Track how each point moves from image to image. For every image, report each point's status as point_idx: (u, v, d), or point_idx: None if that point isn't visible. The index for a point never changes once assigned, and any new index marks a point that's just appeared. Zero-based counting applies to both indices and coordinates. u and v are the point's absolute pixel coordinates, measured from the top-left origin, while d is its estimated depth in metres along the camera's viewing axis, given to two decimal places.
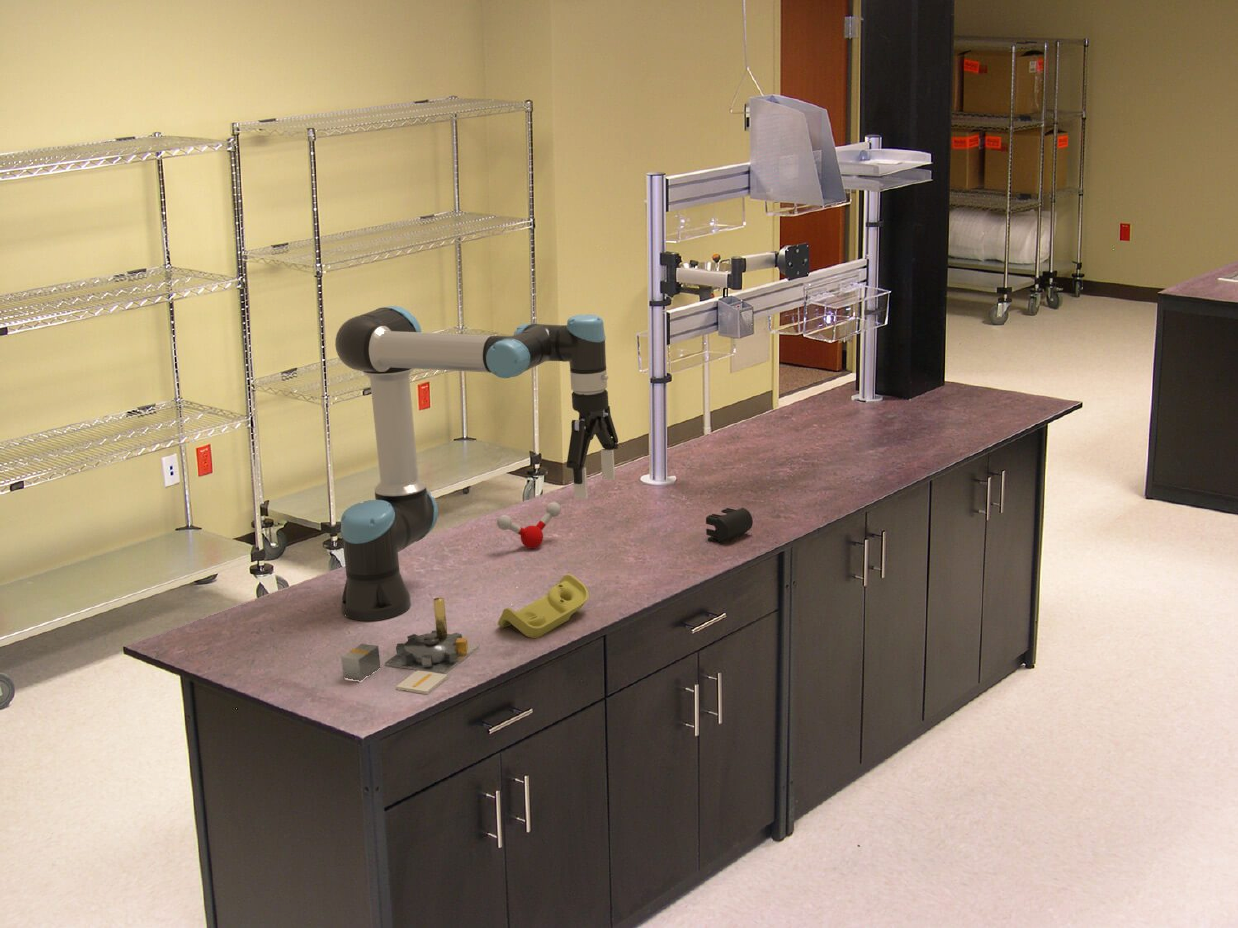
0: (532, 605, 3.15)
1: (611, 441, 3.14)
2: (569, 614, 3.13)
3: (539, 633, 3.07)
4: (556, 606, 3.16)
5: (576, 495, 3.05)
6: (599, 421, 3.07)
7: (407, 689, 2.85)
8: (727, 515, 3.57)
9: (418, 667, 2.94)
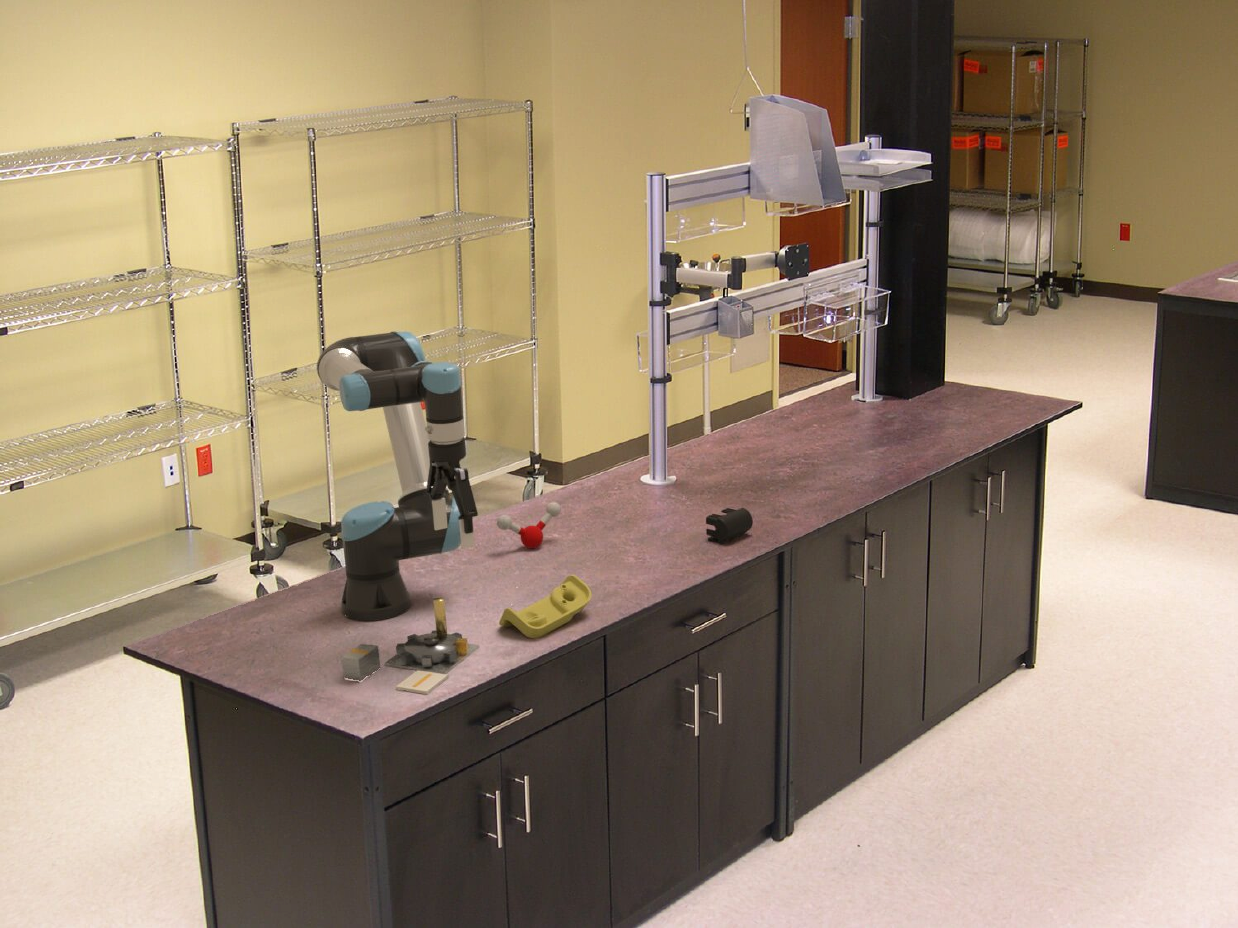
0: (534, 605, 3.15)
1: (459, 508, 2.97)
2: (570, 615, 3.12)
3: (539, 633, 3.07)
4: (558, 607, 3.15)
5: None
6: None
7: (407, 689, 2.85)
8: (727, 515, 3.57)
9: (418, 667, 2.94)
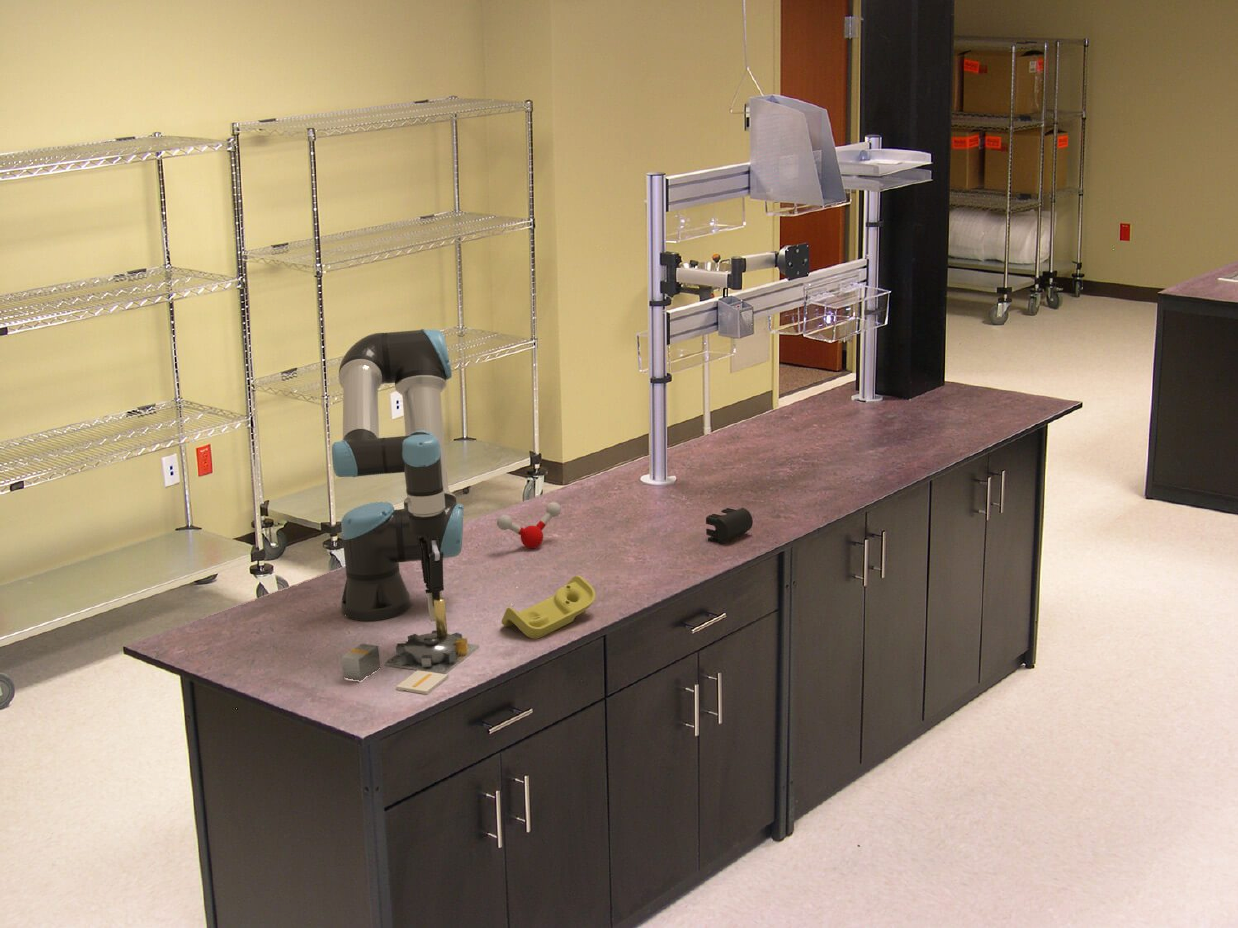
0: (537, 605, 3.15)
1: (428, 582, 3.02)
2: (573, 616, 3.12)
3: (539, 634, 3.07)
4: (561, 607, 3.15)
5: None
6: None
7: (407, 689, 2.85)
8: (727, 515, 3.57)
9: (418, 667, 2.94)
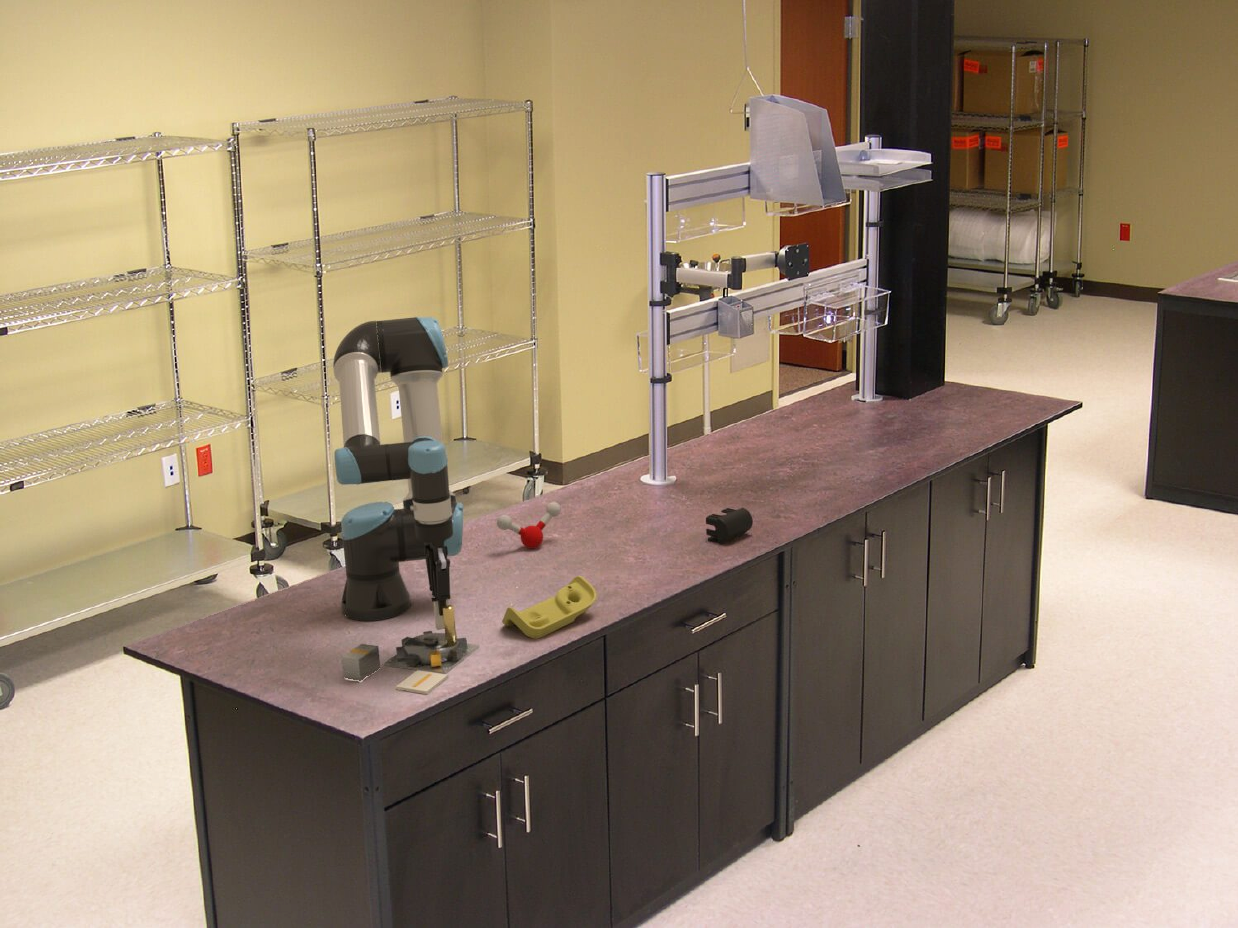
0: (538, 605, 3.15)
1: (435, 590, 2.98)
2: (573, 616, 3.12)
3: (540, 634, 3.07)
4: (562, 608, 3.15)
5: None
6: None
7: (407, 689, 2.85)
8: (727, 515, 3.57)
9: (418, 667, 2.94)
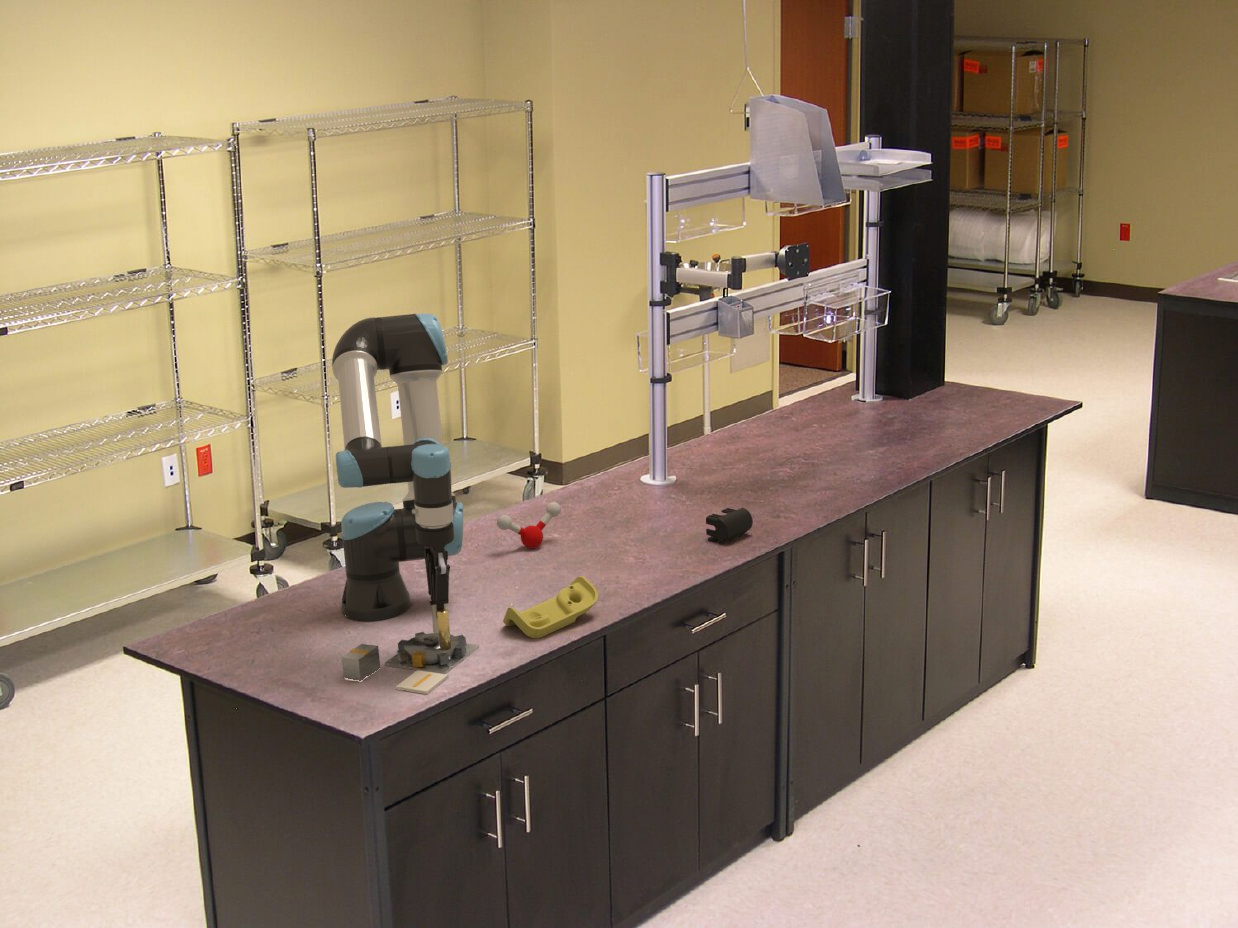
0: (539, 605, 3.15)
1: (433, 594, 2.96)
2: (574, 616, 3.12)
3: (540, 634, 3.07)
4: (563, 608, 3.15)
5: None
6: None
7: (407, 689, 2.85)
8: (727, 515, 3.57)
9: (418, 667, 2.94)
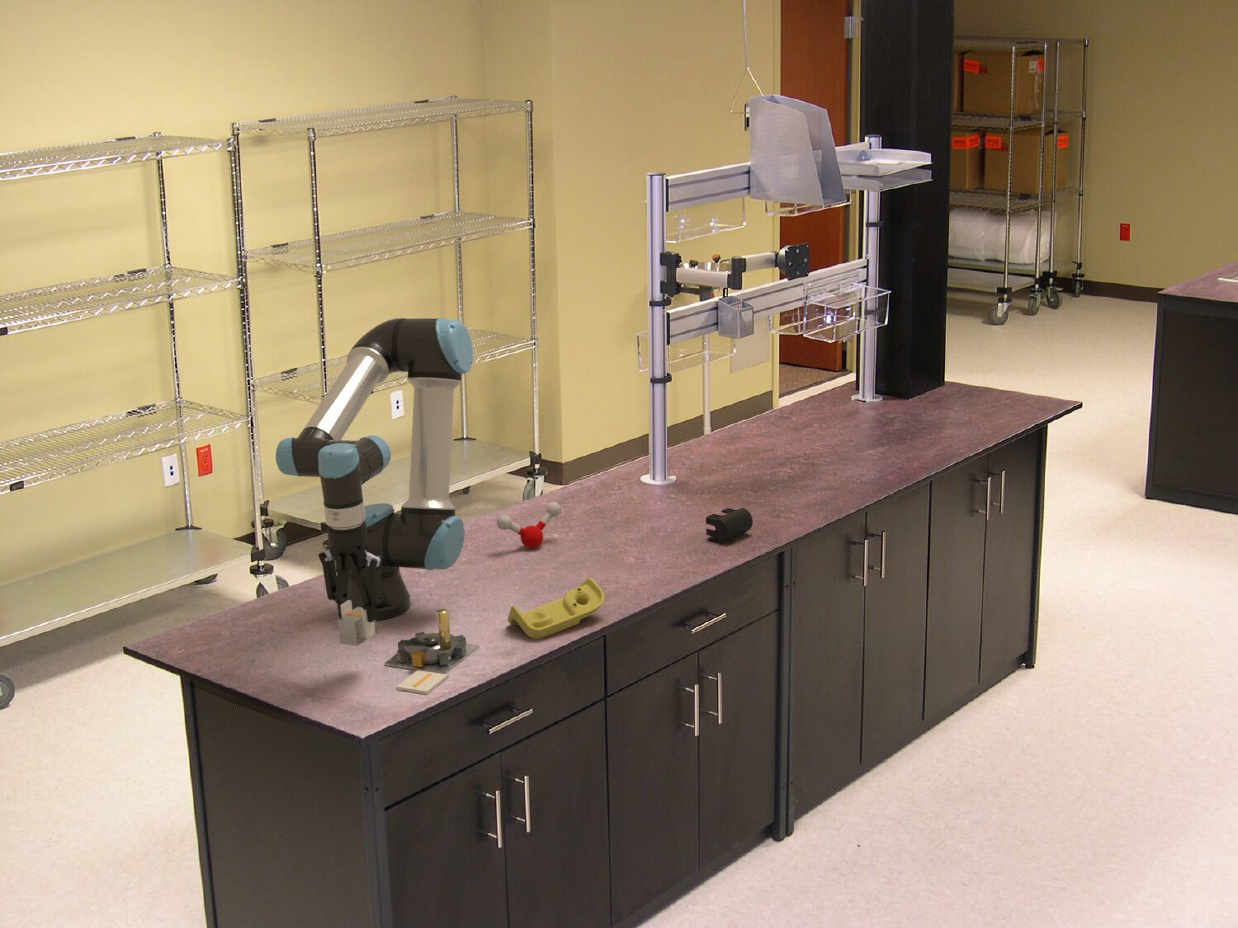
0: (545, 606, 3.14)
1: (364, 597, 2.87)
2: (577, 619, 3.10)
3: (540, 635, 3.06)
4: (568, 609, 3.14)
5: None
6: None
7: (407, 689, 2.85)
8: (727, 515, 3.57)
9: (418, 667, 2.94)
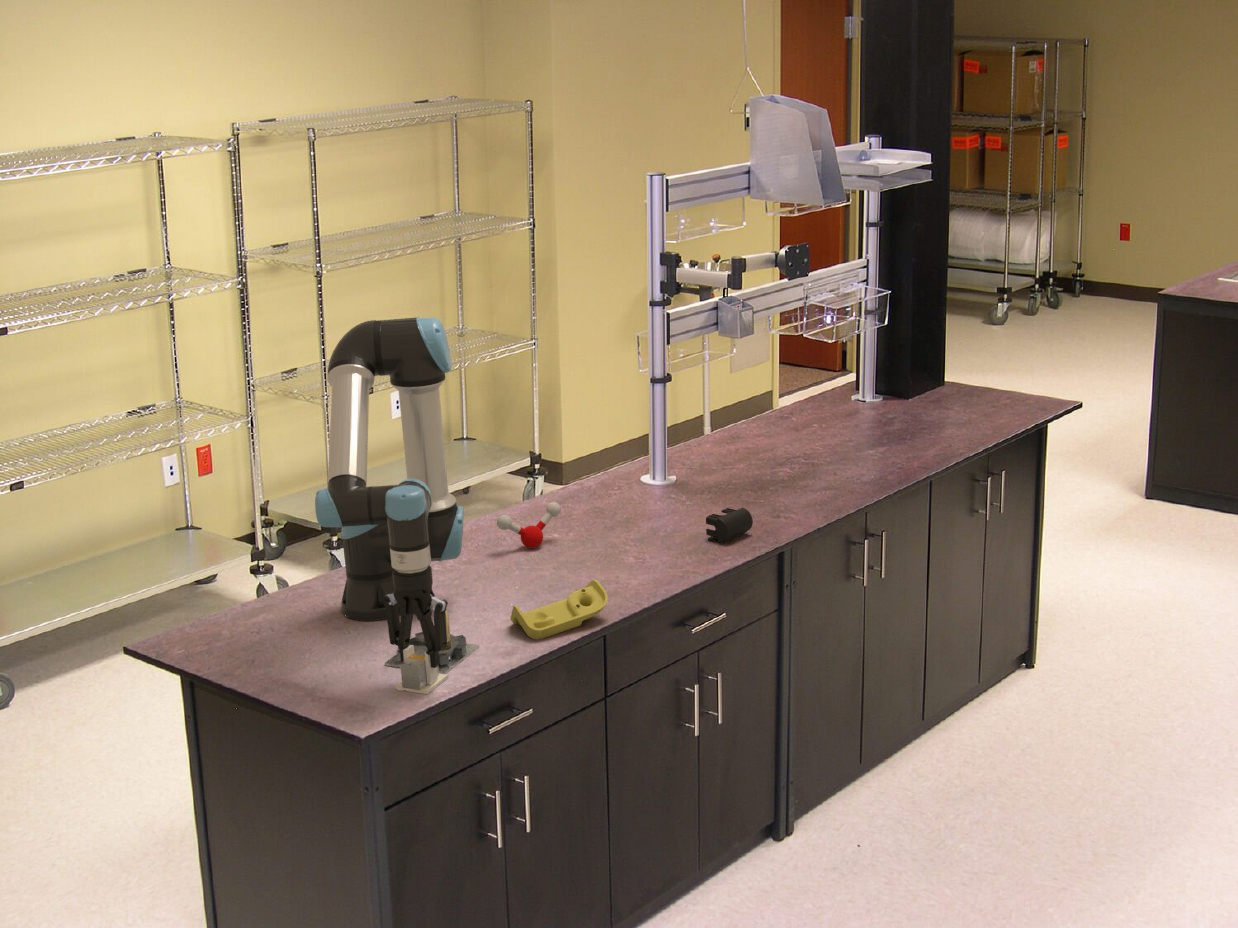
0: (548, 606, 3.14)
1: (428, 642, 2.83)
2: (579, 620, 3.09)
3: (540, 635, 3.06)
4: (571, 611, 3.13)
5: None
6: None
7: (407, 689, 2.85)
8: (727, 515, 3.57)
9: None
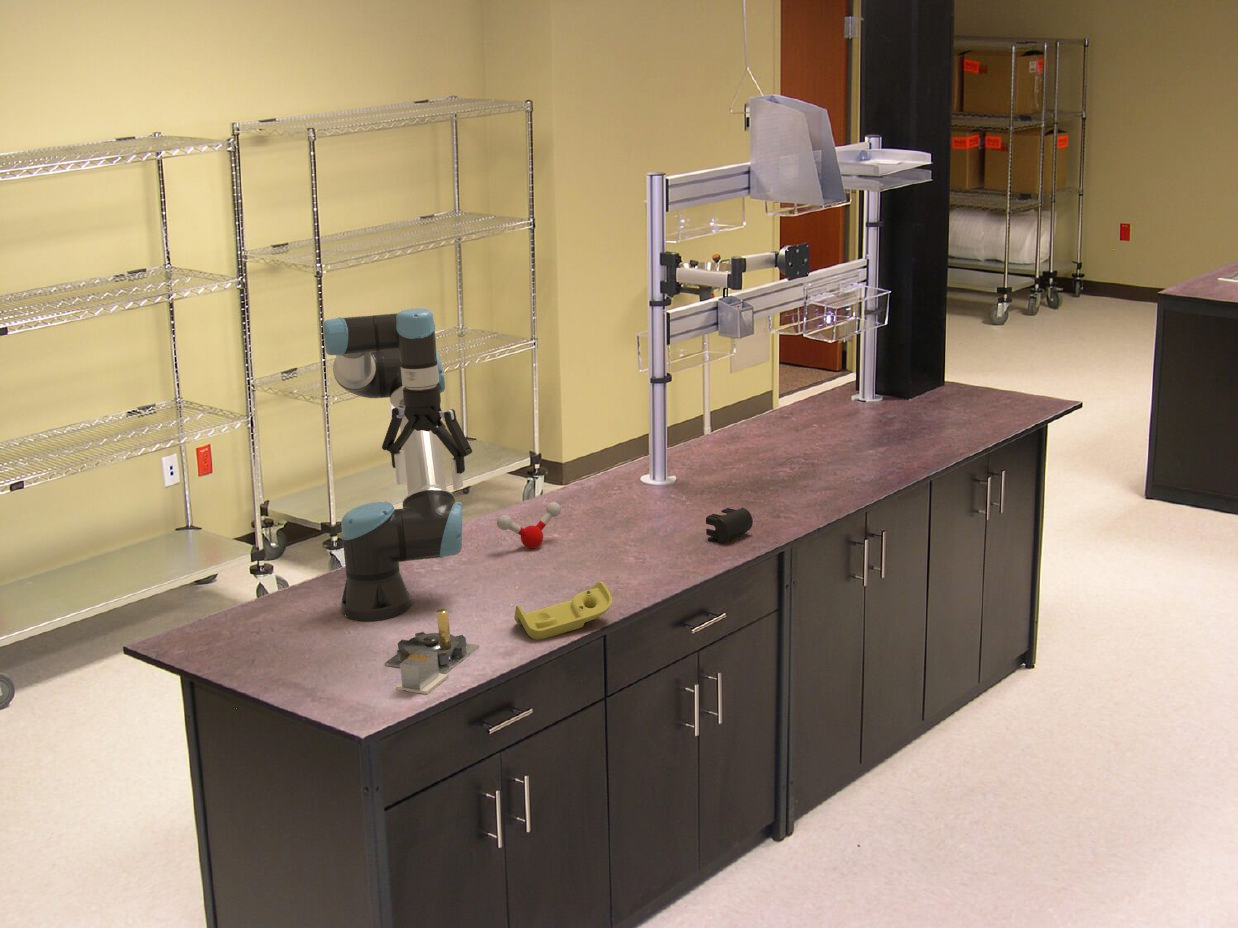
0: (552, 607, 3.13)
1: (451, 449, 3.00)
2: (580, 622, 3.09)
3: (540, 635, 3.06)
4: (574, 612, 3.12)
5: None
6: None
7: (407, 689, 2.85)
8: (727, 515, 3.57)
9: None
